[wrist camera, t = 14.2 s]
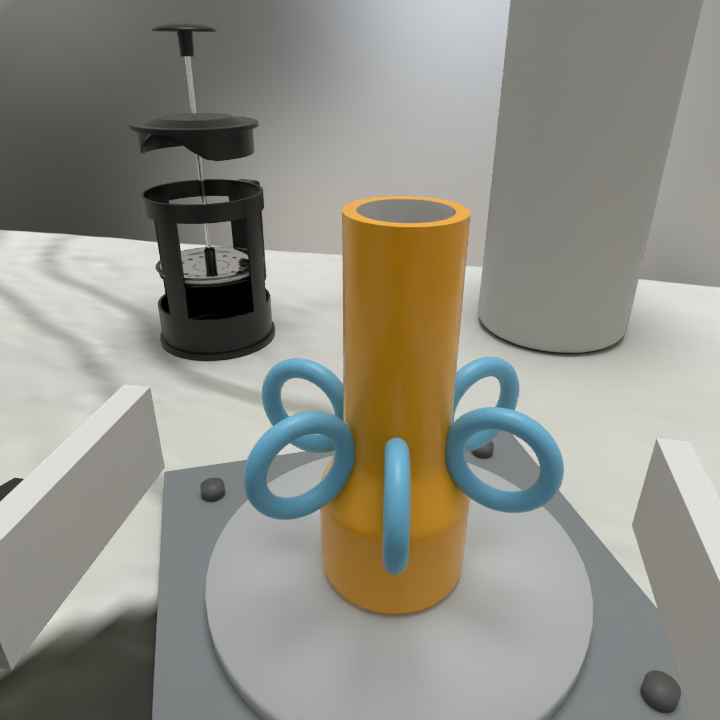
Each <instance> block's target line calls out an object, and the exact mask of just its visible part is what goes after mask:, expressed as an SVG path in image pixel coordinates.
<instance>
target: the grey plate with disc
mask: <svg viewBox="0 0 720 720" xmlns="http://www.w3.org/2000/svg"><path fill="white" fill-rule="evenodd" d="M334 454H335V450H334V451H331V452H327V453H313V452H308V451H305V452H298V453H292V454H285V455H278V456H275V458H274V459H273V461H272V463H271V465H270V467H269V470H268V473H267V485H268V488H269V490H270V491H271V492H272V493H273V494H274V495H276V496H279V497H284V498H289V497H295V496H299V495H301V494H304V493H306V492H308V491H309V490H311V489H312V488H314V487H315V486H316V485H318V484H319V483H320V482H321V479H322V476H323V473H324V471H325V469H326V467H327V465H328V464H329V462H330V460H331V459H332V457H333V456H334ZM465 458H466V461H467V464H468V466H469V468H470V469H471V471H472V472H473V473H474V474H475V475H476V476H477V477H478V478H479V479H480V480H481V481H483V482H484V483H486V484H487V485H489V486H491V487H493V488H496V489H499V490H504V491H520V490H524V489H527V488H529V487H530V486H532V485H533V484H534V483H535V482H536V481H537V479H538V477H539V474H540V467H539V466H538V465H537V464H536V463H535V461H534V460H533V459H532V458H531V457H530V455H529V454H528V453H527V452H526V450H525V449H524V448H523V447H522V446H521V444H520V443H519V442H518V441H517V440H516V438H515V437H514V436H513V435H512V434H511V433H509V432H506V431H501V432H500V433H499V434H498V435H497V436H496V437H495V438H494V439H493V440H492V441H490V442H489V443H487V444H486V445H484V446H482V447H480V448H478V449H475V450H472V451H466V452H465ZM246 462H247V460H243V461H236V462H229V463H223V464H216V465H209V466H202V467H195V468H188V469H181V470H174V471H167V472H164V492H163V512H162V532H161V551H160V571H159V591H158V611H157V631H156V650H155V670H154V690H153V710H152V720H692V717H691V714H690V711H689V707H688V704H687V701H686V698H685V694H684V691H683V688H682V685H681V682H680V678H679V675H678V672H677V669H676V665H675V662H674V659H673V656H672V652H671V649H670V646H669V643H668V640H667V636H666V633H665V630H664V627H663V623H662V620H661V617H660V614H659V611H658V609H657V608H656V607H655V606H654V604H653V603H652V602H651V601H650V600H649V598H648V597H647V596H646V595H645V594H644V592H643V591H642V590H641V589H640V588H639V586H638V585H637V584H636V583H635V582H634V580H633V579H632V578H631V577H630V575H629V574H628V573H627V572H626V571H625V569H624V568H623V567H622V566H621V565H620V563H619V562H618V561H617V560H616V559H615V557H614V556H613V555H612V554H611V553H610V551H609V550H608V549H607V548H606V547H605V545H604V544H603V543H602V542H601V541H600V539H599V538H598V537H597V536H596V535H595V533H594V532H593V531H592V530H591V529H590V527H589V526H588V525H587V524H586V523H585V521H584V520H583V519H582V518H581V517H580V515H579V514H578V513H577V512H576V511H575V509H574V508H573V507H572V506H571V505H570V503H569V502H568V501H567V500H566V499H565V497H564V496H563V495H562V494H561V493H560V491H559V490H558V492H557V493H556V495H555V496H554V497H553V498H552V499H551V500H550V501H549V502H548V503H546V504H545V505H543V506H542V507H540V508H538V509H535V510H532V511H529V512H523V513H506V512H500V511H496V510H492V509H490V508H487V507H485V506H483V505H481V504H479V503H477V502H475V501H474V500H472V499H471V498H470V505H469V514H468V523H467V532H466V540H465V549H464V558H463V565H462V571H461V574H460V577H459V580H458V581H457V583H456V585H455V586H454V588H453V589H452V591H451V592H450V593H449V594H448V595H447V596H446V597H445V598H444V599H443V600H441V601H440V602H438V603H437V604H435V605H434V606H432V607H429V608H426V609H424V610H422V611H419V612H413V613H409V614H395V615H390V614H384V613H376V612H373V611H370V610H366V609H363V608H361V607H359V606H357V605H355V604H353V603H351V602H349V601H348V600H347V599H346V598H344V597H343V596H341V595H340V594H339V593H338V592H337V590H336V589H335V588H334V587H333V586H332V585H331V583H330V581H329V580H328V578H327V576H326V574H325V571H324V568H323V563H322V549H321V518H320V509H319V510H317V511H316V512H314V513H312V514H309V515H307V516H304V517H301V518H297V519H291V520H279V519H273V518H270V517H267V516H265V515H263V514H261V513H260V512H258V511H257V510H256V509H255V508H254V507H253V506H252V505H251V503H250V502H249V500H248V498H247V496H246V493H245V489H244V482H243V478H244V469H245V465H246Z"/></svg>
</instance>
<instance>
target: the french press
mask: <svg viewBox="0 0 720 720" xmlns="http://www.w3.org/2000/svg"><path fill="white" fill-rule="evenodd" d="M152 31H167V32H168V31H169V32H177V35H178V42H179V48H180V55H181V56H185V62H186V72H187V80H188V89H189V98H190V106H191V113H181V114H169V115H162V116H158V117H156V118H149V119H142V120H137V121H133V122H130V123H129V128H130V129H131V130H133V131H137V136H138V143H139V149H140V153H141V154H144V153H146V152H148V151H151V150H155V149H160V148H167V147H176V146H185V147H186V148H187V149H189V150H190V151H192V152H193V153H195V154H196V158H197V167H198V176H199V180H188V181H178V182H172V183H166V184H161V185H157V186H153V187H151V188H148V189H146V190H144V191H143V192H142V193H141V195H140V197H141V203H142V209H143V214H144V215H145V216H146V217H148V218H150V219H153V220H154V222H155V229H156V235H157V242H158V248H159V255H160V261H159V262H158V263H157V264H156V270H157V271H158V272H159V275H160V277H161V278H162V279H163V281H164V287H165V294H164V295H163V296H162V297H161V298H160V300H159V301H158V309H159V315H160V321H161V327H162V332H161V338H160V339H161V343H162V345H163V347H164V348H165V349H166V350H167V351H168V352H170V353H171V354H173V355H176V356H179V357H182V358H187V359H192V360H223V359H230V358H235V357H240V356H243V355H247V354H250V353H252V352H255V351H257V350H259V349H261V348H263V347H264V346H266V345H267V344H268V343H269V342H270V341H271V340H272V339H273V337H274V334H275V326H274V323H273V321H272V316H271V301H270V294H269V292H268V290H267V289H266V288H265V280H266V267H265V252H264V238H263V224H262V210H263V208H264V198H263V189H262V187H261V186H260V183H259V182H258V181H256V180H246V179H239V180H224V179H223V180H221V179H205V180H204V175H203V166H202V158H204V159H207V160H214V161H222V160H230V159H237V158H242V157H246V156H249V155H251V154H253V153H254V142H253V128H256V127H258V125H259V124H258V121H257V120H255V119H252V118H246V117H235V116H231V115H227V114H218V113H196V104H195V95H194V86H193V77H192V68H191V59H190V56H194V46H193V32H216V31H217V30H216V29H215V28H213V27H210V26H207V25H202V24H193V23H170V24H162V25H158V26H156V27H153V28H152ZM197 196H201V202H202V204H199V205H184V204H169V200H173V199H179V198H186V197H197ZM206 196H229V202H224V203H214V204H207V203H206ZM226 221H231V227H232V237H233V247H211V239H210V229H209V223H218V222H226ZM177 223H179V224H204V228H205V236H206V245H207V247H204V248H196V249H190V250H185V251H180V243H179V236H178V229H177ZM212 316H234V317H229V318H223V319H212V320H198V319H202V318H207V317H212Z"/></svg>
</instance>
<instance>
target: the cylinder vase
mask: <svg viewBox="0 0 720 720" xmlns="http://www.w3.org/2000/svg"><path fill="white" fill-rule="evenodd" d="M702 3H703V0H511V2H510V11H509V21H508V31H507V41H506V50H505V59H504V69H503V78H502V88H501V97H500V108H499V116H498V126H497V137H496V146H495V155H494V165H493V174H492V183H491V193H490V202H489V213H488V222H487V231H486V241H485V250H484V260H483V269H482V279H481V288H480V298H479V307H478V313H479V317H480V319H481V321H482V323H483V324H484V325H485V327H486V328H487V329H489V330H490V331H491V332H492V333H494V334H495V335H497V336H499V337H501V338H502V339H505V340H507V341H509V342H512V343H514V344H517V345H520V346H524V347H527V348H532V349H536V350H542V351H549V352H559V353H580V352H590V351H595V350H599V349H603V348H606V347H609V346H611V345H613V344H614V343H616V342H617V341H619V340H620V339H621V338H622V337H623V336H624V334H625V332H626V330H627V327H628V322H629V318H630V314H631V309H632V305H633V301H634V296H635V292H636V288H637V284H638V279H639V275H640V271H641V266H642V262H643V258H644V253H645V249H646V244H647V240H648V236H649V232H650V228H651V223H652V219H653V215H654V210H655V206H656V201H657V197H658V193H659V189H660V184H661V180H662V176H663V172H664V167H665V163H666V158H667V154H668V150H669V146H670V141H671V137H672V132H673V128H674V124H675V120H676V116H677V111H678V107H679V102H680V98H681V94H682V90H683V85H684V81H685V77H686V73H687V68H688V64H689V60H690V55H691V50H692V47H693V42H694V38H695V34H696V29H697V25H698V21H699V17H700V12H701V8H702Z"/></svg>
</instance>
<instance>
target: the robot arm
mask: <svg viewBox="0 0 720 720" xmlns="http://www.w3.org/2000/svg"><path fill="white" fill-rule="evenodd" d="M164 468H165V467H164V461H163V456H162V450H161V445H160V439H159V434H158V428H157V423H156V417H155V412H154V406H153V400H152V395H151V389H150V387H145V386H135V385H126V384H124V385H123V386H122V387H121V388H120V389H119V390H118V391H117V392H116V393H115V394H114V395H113V396H112V397H110V398H109V399H108V400H107V401H106V402H105V403H104V404H103V405H102V406H101V407H100V408H99V409H98V410H97V411H96V412H95V413H94V414H92V415H91V416H90V417H89V418H88V419H87V420H86V421H85V422H84V423H83V424H82V425H81V426H80V427H79V428H78V429H77V430H76V431H74V432H73V433H72V434H71V435H70V436H69V437H68V438H67V439H66V440H65V441H64V442H63V443H62V444H61V445H60V446H59V447H58V448H57V449H55V450H54V451H53V452H52V453H51V454H50V455H49V456H48V457H47V458H46V459H45V460H44V461H43V462H42V463H41V464H40V465H39V466H37V467H36V468H35V469H34V470H33V471H32V472H31V473H30V474H29V475H28V476H27V477H26V478H25V479H20V478H14V479H12V480H10V481H8V482H6V483H5V484H3V485H1V486H0V668H1V669H7V670H12V669H13V668H14V667H15V665H16V664H17V663H18V661H19V660H20V659H21V657H22V656H23V655H24V653H25V652H26V651H27V649H28V648H29V647H30V645H31V644H32V643H33V641H34V640H35V639H36V637H37V636H38V635H39V633H40V632H41V631H42V630H43V628H44V627H45V626H46V624H47V623H48V622H49V620H50V619H51V618H52V616H53V615H54V614H55V612H56V611H57V610H58V608H59V607H60V606H61V604H62V603H63V602H64V600H65V599H66V598H67V596H68V595H69V594H70V592H71V591H72V590H73V588H74V587H75V586H76V584H77V583H78V582H79V580H80V579H81V578H82V576H83V575H84V574H85V572H86V571H87V570H88V569H89V567H90V566H91V565H92V563H93V562H94V561H95V559H96V558H97V557H98V555H99V554H100V553H101V551H102V550H103V549H104V547H105V546H106V545H107V543H108V542H109V541H110V539H111V538H112V537H113V535H114V534H115V533H116V531H117V530H118V529H119V527H120V526H121V525H122V523H123V522H124V521H125V519H126V518H127V517H128V515H129V514H130V513H131V511H132V510H133V509H134V508H135V506H136V505H137V504H138V502H139V501H140V500H141V498H142V497H143V496H144V494H145V493H146V492H147V490H148V489H149V488H150V486H151V485H152V484H153V482H154V481H155V480H156V478H157V477H158V476H159V474H160V473H161V472H162V470H163V469H164ZM632 527H633V530H634V533H635V536H636V540H637V543H638V546H639V549H640V552H641V556H642V559H643V562H644V565H645V569H646V572H647V575H648V578H649V582H650V585H651V588H652V591H653V594H654V598H655V601H656V604H657V607H658V611H659V614H660V617H661V620H662V623H663V627H664V630H665V633H666V636H667V640H668V643H669V646H670V649H671V652H672V656H673V659H674V662H675V665H676V669H677V672H678V675H679V678H680V682H681V685H682V688H683V691H684V694H685V698H686V701H687V704H688V707H689V711H690V714H691V717H692V720H720V497H719V495H718V493H717V491H716V489H715V488H714V486H713V484H712V482H711V480H710V478H709V476H708V474H707V472H706V470H705V468H704V467H703V465H702V463H701V461H700V459H699V457H698V455H697V453H696V451H695V449H694V447H693V445H692V444H691V442H687V441H678V440H668V439H658V438H657V439H656V442H655V446H654V449H653V453H652V456H651V460H650V463H649V467H648V471H647V474H646V478H645V481H644V485H643V488H642V492H641V495H640V499H639V502H638V506H637V509H636V513H635V517H634V520H633V524H632Z"/></svg>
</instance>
